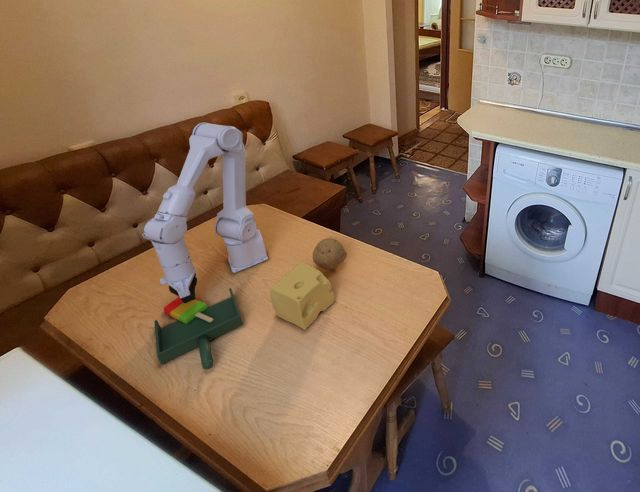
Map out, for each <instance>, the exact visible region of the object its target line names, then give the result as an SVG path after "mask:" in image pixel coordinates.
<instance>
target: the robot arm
mask: <svg viewBox="0 0 640 492" xmlns="http://www.w3.org/2000/svg"><path fill="white" fill-rule="evenodd" d="M243 137H244V136H243V132H242V131H241V130H240V129H238V128H237V127H236V126H232V125H224V124H223V125H222V124H215V123H210V122H205V121H204V122H199V123H198V124H196V126H194V128H193V130H192V134H191V135H190V137H189V139H188V142H189V150H188V152H187V153H188V154H187V156H186V157H185V158H186V159H185V161H184V164H183V167H182V169H181V172H180V175H179V177H178V179H177V183H176V184H174V185H172V186H170V187H168V188H167V190H166V192H164V194H163V196H162V198H163V199H162V201H161V203H160V205H159V207H158V209H157V211H156V214H154V217H152V218H150V219H149V220H148V221H147V222H146V223H145V225H144V228H143V233H141V235H142V237H143V238H144V239H145V240H148V241H150V243H151V244H152V246H153V248H154V251H155V254H156V256H157V260H158V262H159V264H160V267H161V270H162V273H163V275H164V276H163V277H160V279H159V283H160V285H168V291H169V292H170V293H171V294H172V295H175V296H177V298H178V297H179V298H180V299H181V300H182V301H183V303H187V302H190V301H192V300H195V299H196V287H197V286H196V285H197V284H198V277H197V269H196V267H195V266H194V264H193V261H192V257H191V255H190V251H189V249H188V245H187V243H186V240H185V237H184V236H185V235H186V233H187V231H188V224H187V221H188V217H187V216H188V213H189V212H190V209H191V207H192V205H193V202H194V200H195V198H196V195H197V193H196V191H195V189H194V187H195V186H196V184H197V181H198V180H199V178H200V176H201V175H202V173H203V172H204V169H205V167H206V166H207V164H208V162H209V160H211V159H214V158H217V157H219V156H221V159H222V161H221V162H222V199H223V200H222V202H223V203H222V205H223V206H222V207H223V208H222V209H220V211H219V212H217V213H216V221H215V223H214V227H213V230H214V233H215V234H216V235H217V236H220V237H221V239H222V240H223V242H224V244H225V248H226V252H227V255H228V258H227V261H228V264H229V267H230V269H231V273H232V274H236V273H238V272H241V271H243V270H246V269H248V268H250V267H253V266H256V265H258V264H261V263H264V262H265V261H268V260H269V257H268V254H267V248H266V245H265V242H264V239H263V236H262V233H261V230H260V229H258V228H257V227H258V224H257V221H256V220H255V214H254V213H253V212H252V211H251V209H250V208H248V206H247V183H246V181H247V180H246V179H247V178H246V177H247V175H246V174H247V173H246V172H247V171H246V147H245V144H244V140H243Z"/></svg>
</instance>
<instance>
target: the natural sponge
mask: <svg viewBox="0 0 640 492" xmlns="http://www.w3.org/2000/svg"><path fill="white" fill-rule="evenodd" d="M346 258H347V250H346V248H344V246H343V244H342V243H341V242H340V241H339V240H338V239H336V238H333V237H326V238H323V239H321V240H320V241H319V242H317V244H316V245H315V247H314V249H313V252H312V261H313V263H314V264H315V265H316V266H318V267H320V268H321V269H323V270H326V271H332V270H334V269H336V268H337V267H338V266H339V265H340V264H342V263H343V262H344V261H345V260H346Z"/></svg>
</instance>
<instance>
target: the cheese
mask: <svg viewBox="0 0 640 492" xmlns="http://www.w3.org/2000/svg"><path fill="white" fill-rule="evenodd" d="M331 289H332V283H331V281H330V280H329V279H328V278H327V277H326V276H325V275H324V273H323V272H322V271H320V270H318V269H317V268H315V267H314V266H312V265H310V264H308V263H305V262H302V261H301V262H299V264H298V265H296V266H295V267H294V268H293V269H292V270H291V271H289V272H288V273H287V275H285V276H284V277H282V279H280V280H279V281H278V282H277V283H275V284H273V286H271V287H270V301H271V305H272V308H273V310H274V312H275V314H276V315H277V317H278V318H281V319H283V320H284V321H286V322H288V323H291V324H292V325H294V326H296V327H299V328H301V329H302V330H304V331H305V330H307V329H308V328H309V327H310V326H311V324H312V323H314V321H316V320H317V319H318V317H319V314H320V312H321V311H322V312H324V311H326V310H328V308H329V307H330V306H331V305H333V304H334V303H335V301H336V300H335V299H336V297H335V293H334V292H333V291H332V290H331Z"/></svg>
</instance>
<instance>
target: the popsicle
mask: <svg viewBox="0 0 640 492" xmlns="http://www.w3.org/2000/svg"><path fill="white" fill-rule="evenodd" d="M208 307H209V306H208V303H205V302H204V301H200V300H199V299H196V298H195V300H192V301H190V302H187V303H183V301H182V300H181V299H180V298H179V297H178V296H177V297H176V298H175V299H173V300H172V301H170V302H169V303H167V304H166V305H165V306H164V307H163V312H164V314H165V315H167V316H168V317H171V318H172V319H175V320H176V321H178V320H179V321H181V322H183V323H185V324H187V323H189V322H190V321H191V320H193V319H194V318H195V317H199V318H201V319H203V320H205V321H207V322H212V321H213V318H211V317H208V316H206V315H204V314H202V312H203V311H204V310H206V309H207V308H208Z"/></svg>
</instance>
